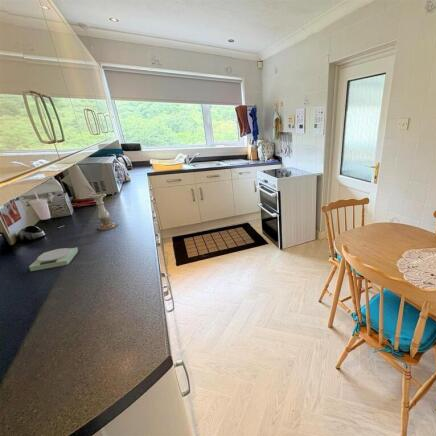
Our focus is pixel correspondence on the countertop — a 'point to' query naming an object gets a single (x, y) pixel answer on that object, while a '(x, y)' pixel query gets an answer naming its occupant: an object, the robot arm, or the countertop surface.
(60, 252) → the scale
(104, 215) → the candle holder
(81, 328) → the countertop surface
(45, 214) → the smoothie
